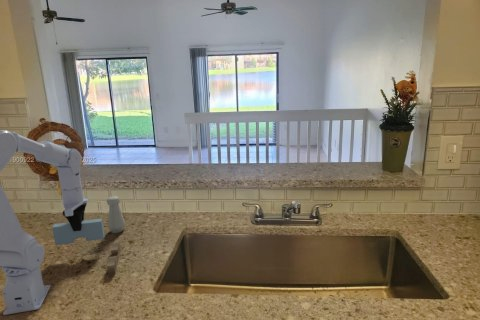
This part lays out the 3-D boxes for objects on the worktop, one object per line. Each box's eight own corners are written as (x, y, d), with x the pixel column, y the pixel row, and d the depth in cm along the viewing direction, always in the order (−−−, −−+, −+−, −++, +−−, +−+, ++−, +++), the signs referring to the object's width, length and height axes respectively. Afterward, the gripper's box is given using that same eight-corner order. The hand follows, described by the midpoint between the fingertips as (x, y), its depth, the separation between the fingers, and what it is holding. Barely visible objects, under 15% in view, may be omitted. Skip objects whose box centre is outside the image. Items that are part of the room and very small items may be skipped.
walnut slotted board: (115, 274, 96) (114, 265, 95) (108, 275, 95) (106, 266, 95) (120, 250, 109) (119, 241, 108) (113, 250, 109) (112, 242, 108)
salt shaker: (105, 232, 122) (100, 198, 118) (117, 226, 126) (113, 193, 123) (117, 235, 119) (112, 201, 115) (129, 228, 124) (124, 195, 120)
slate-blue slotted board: (103, 238, 107) (101, 221, 105) (55, 245, 104) (51, 227, 102) (104, 235, 109) (102, 218, 107) (57, 241, 106) (54, 224, 104)
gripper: (80, 193, 96) (87, 237, 99) (90, 178, 109) (96, 217, 113) (53, 196, 94) (61, 240, 98) (66, 181, 108) (73, 220, 111)
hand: (78, 228), depth 105 cm, fingers closed on slate-blue slotted board, 2 cm apart
